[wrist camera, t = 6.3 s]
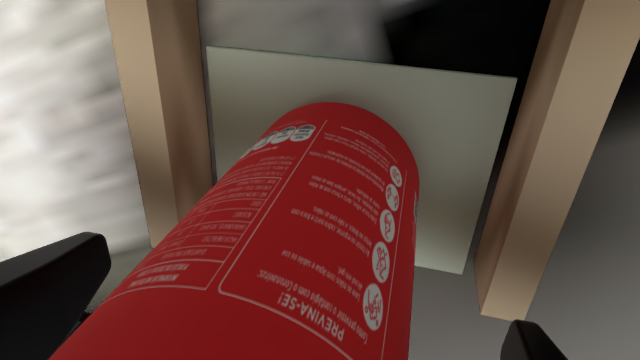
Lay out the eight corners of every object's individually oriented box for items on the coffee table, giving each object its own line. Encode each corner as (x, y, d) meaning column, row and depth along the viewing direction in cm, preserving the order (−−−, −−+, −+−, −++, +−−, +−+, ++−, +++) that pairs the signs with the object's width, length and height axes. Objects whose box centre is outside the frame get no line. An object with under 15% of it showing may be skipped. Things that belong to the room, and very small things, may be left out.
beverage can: (414, 81, 12) (290, 856, 2) (425, 231, 14) (399, 950, 4) (251, 99, 13) (-340, 565, 3) (284, 232, 16) (2, 753, 5)
